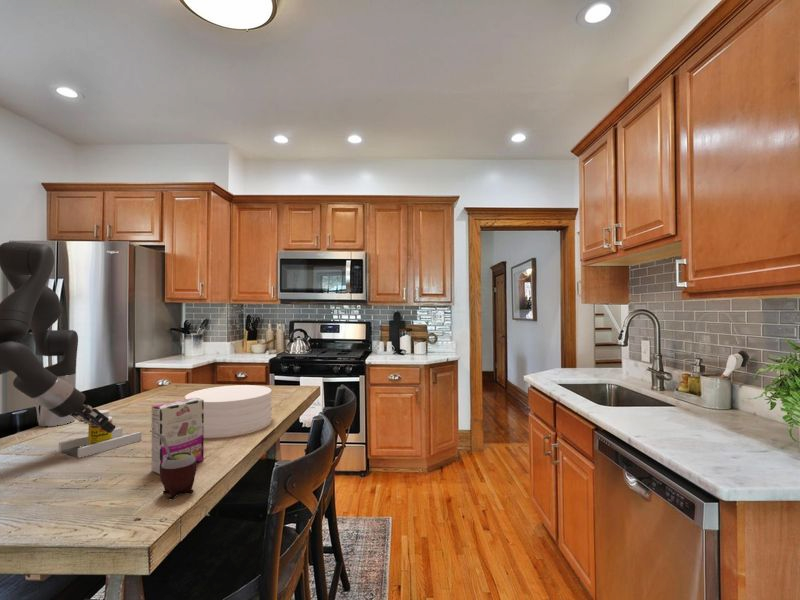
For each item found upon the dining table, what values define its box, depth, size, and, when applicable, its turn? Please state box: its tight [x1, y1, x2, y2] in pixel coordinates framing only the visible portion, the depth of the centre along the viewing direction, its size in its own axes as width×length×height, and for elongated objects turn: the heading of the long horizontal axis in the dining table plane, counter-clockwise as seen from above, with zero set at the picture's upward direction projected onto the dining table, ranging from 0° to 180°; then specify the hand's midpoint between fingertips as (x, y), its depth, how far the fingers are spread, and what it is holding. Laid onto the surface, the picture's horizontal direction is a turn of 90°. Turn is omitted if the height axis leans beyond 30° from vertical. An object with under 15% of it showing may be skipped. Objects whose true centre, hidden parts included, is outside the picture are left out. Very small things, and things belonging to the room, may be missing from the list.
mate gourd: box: [149, 429, 198, 500], centre depth 84 cm, size 8×8×15 cm
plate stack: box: [184, 384, 272, 439], centre depth 135 cm, size 28×28×12 cm
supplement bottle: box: [87, 409, 113, 446], centre depth 113 cm, size 6×6×10 cm
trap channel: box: [58, 426, 142, 459], centre depth 113 cm, size 16×11×2 cm
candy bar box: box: [151, 398, 205, 476], centre depth 99 cm, size 11×5×16 cm, turn 148°
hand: (106, 428), depth 114 cm, fingers closed on supplement bottle, 5 cm apart
